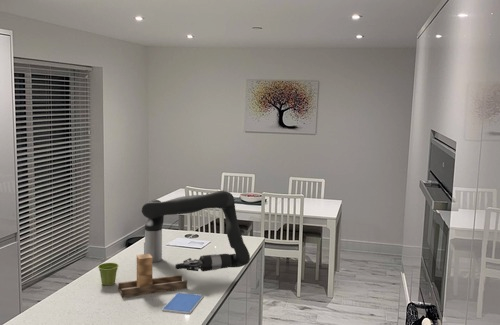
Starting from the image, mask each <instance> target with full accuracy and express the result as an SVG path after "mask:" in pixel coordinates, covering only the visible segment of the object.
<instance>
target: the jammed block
mask: <svg viewBox="0 0 500 325" xmlns="http://www.w3.org/2000/svg"><path fill="white" fill-rule="evenodd" d="M152 278H153V262H152V256H151V255H150V254H144V253H143V254H136V280H137V287H139V286H146V285H152Z"/></svg>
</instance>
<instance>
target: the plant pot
mask: <svg viewBox="0 0 500 325" xmlns="http://www.w3.org/2000/svg"><path fill="white" fill-rule="evenodd" d="M97 268H98V271H99V273H100V274H99V275H100V279H101V285H103V286H109V285H110V286H112V285H114V284H115V283H116V280H117V279H116V278H117V272H118V271H117V270H118V268H119V264H118V263H117V262H104V263H101V264H98V266H97Z"/></svg>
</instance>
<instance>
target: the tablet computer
mask: <svg viewBox="0 0 500 325" xmlns="http://www.w3.org/2000/svg"><path fill="white" fill-rule="evenodd" d="M203 298H204V295H201V294H194V293H183V292H177V293H176V294H175V295H173V297H172V298H171V299H170V300H169V301H168V302H167V303H166V304H165V305H164V307H163V308H162V309H161V311H162V312H167V313H175V314H181V315H182V314H183V315H189V314H191V313H192V312H193V310H194V309H195V308H196V307H197V306H198V304H199V303H200V302H201V300H202V299H203Z"/></svg>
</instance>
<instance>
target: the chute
mask: <svg viewBox="0 0 500 325" xmlns="http://www.w3.org/2000/svg"><path fill="white" fill-rule="evenodd" d="M117 285H118V292H119V295H120V296H121V298H122V299H123V298H129V297H136V296H137V297H138V296H144V295H151V294H157V293H166V292H172V291H177V290H178V291H180V290H187V289H188V280H186V279H185V280H183V274H177V275H176V274H175V275H168V276H167V275H166V276H161V277H159V276H158V277H154V278H153V277H152V285H146V286H139V287H137V279H136V280H129V281H122V282H118V284H117Z"/></svg>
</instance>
